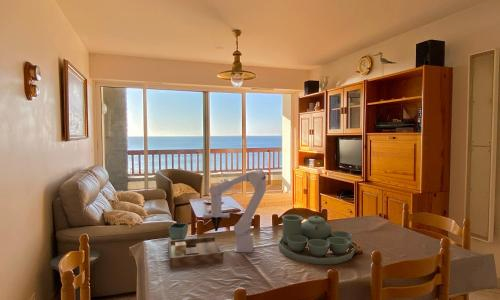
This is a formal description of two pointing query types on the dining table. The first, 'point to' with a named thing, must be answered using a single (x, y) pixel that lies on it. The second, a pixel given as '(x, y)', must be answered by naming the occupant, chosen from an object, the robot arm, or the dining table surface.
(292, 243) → the tea set
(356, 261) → the dining table surface
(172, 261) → the walnut box
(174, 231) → the flower pot
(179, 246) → the maple block
